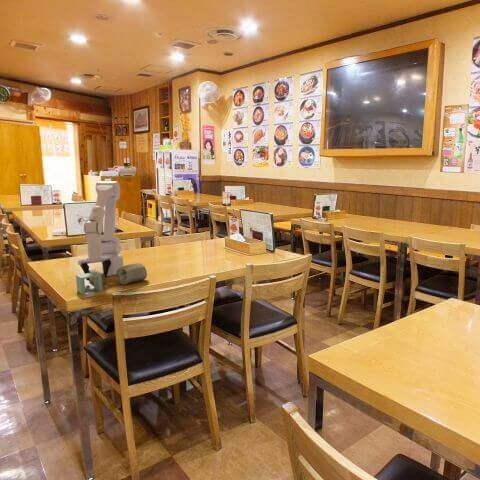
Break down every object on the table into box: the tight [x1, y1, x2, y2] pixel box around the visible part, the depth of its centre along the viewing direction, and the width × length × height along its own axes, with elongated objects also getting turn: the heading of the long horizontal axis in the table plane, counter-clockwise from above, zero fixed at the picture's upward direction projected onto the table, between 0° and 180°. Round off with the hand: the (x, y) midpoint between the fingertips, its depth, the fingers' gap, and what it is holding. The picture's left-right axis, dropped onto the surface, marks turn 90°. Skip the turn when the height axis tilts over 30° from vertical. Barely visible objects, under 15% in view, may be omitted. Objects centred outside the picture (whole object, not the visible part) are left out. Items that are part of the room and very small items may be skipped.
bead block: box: [75, 272, 103, 295], centre depth 166 cm, size 8×6×7 cm
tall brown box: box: [89, 268, 106, 287], centre depth 179 cm, size 3×13×5 cm, turn 36°
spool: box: [116, 262, 148, 286], centre depth 179 cm, size 14×10×10 cm
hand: (96, 278), depth 179 cm, fingers open, 7 cm apart
